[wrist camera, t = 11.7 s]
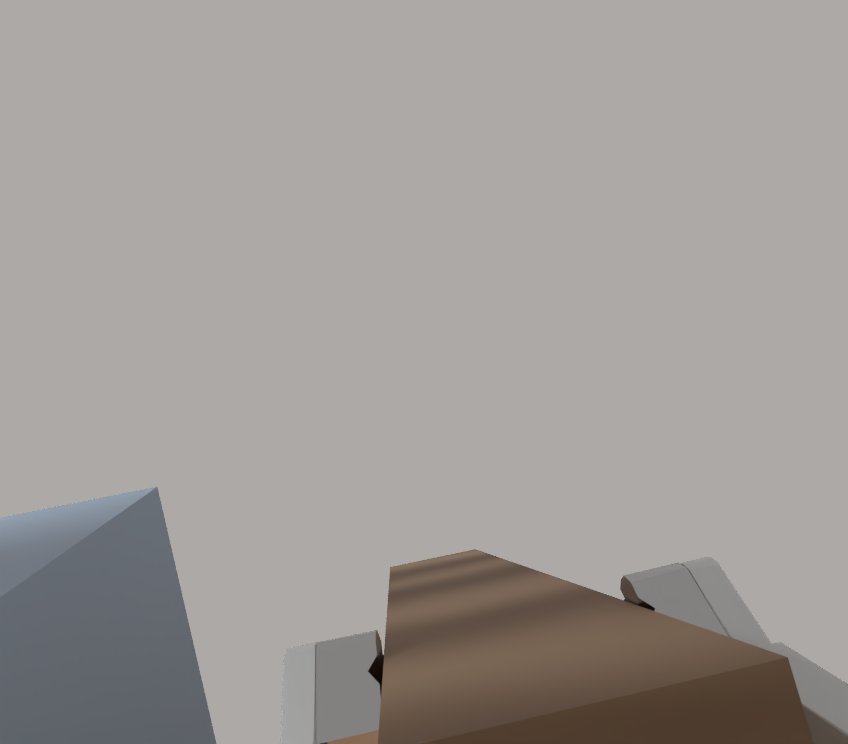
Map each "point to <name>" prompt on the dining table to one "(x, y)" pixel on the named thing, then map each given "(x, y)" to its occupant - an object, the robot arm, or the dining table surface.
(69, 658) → the tower
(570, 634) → the walnut bar
